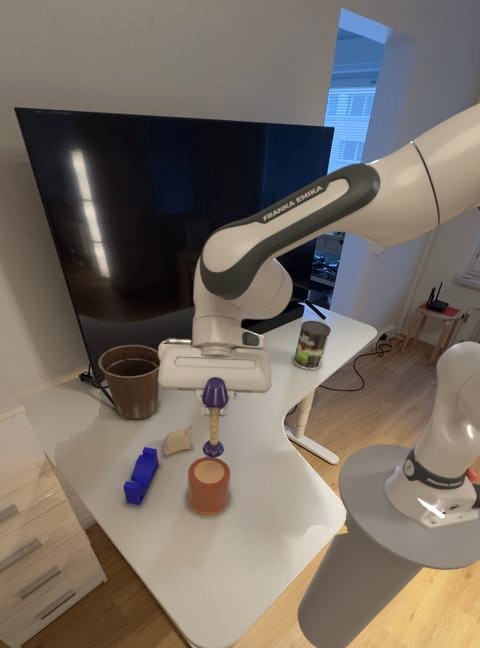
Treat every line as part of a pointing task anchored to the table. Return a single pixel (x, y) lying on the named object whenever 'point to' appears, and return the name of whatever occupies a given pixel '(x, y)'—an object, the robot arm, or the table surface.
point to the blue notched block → (141, 476)
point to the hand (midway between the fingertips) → (214, 416)
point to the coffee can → (311, 344)
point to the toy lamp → (214, 413)
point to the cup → (208, 485)
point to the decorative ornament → (177, 441)
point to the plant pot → (132, 379)
